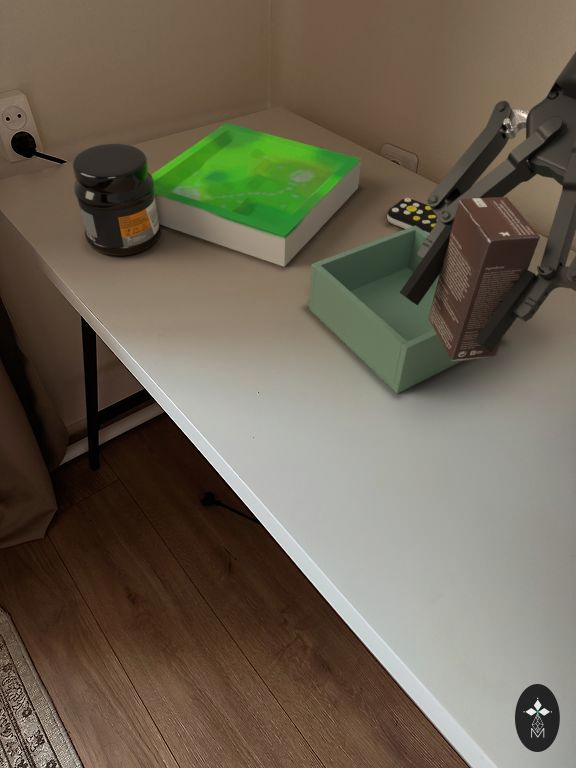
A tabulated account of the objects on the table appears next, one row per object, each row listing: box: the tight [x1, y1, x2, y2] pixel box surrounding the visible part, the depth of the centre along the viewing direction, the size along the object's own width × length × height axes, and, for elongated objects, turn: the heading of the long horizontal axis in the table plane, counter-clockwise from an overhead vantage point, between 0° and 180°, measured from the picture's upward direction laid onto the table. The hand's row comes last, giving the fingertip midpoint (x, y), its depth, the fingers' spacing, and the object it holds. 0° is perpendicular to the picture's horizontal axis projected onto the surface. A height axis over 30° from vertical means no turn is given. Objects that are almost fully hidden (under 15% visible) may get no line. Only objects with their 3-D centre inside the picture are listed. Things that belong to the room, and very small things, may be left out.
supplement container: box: [72, 143, 161, 257], centre depth 88 cm, size 10×10×12 cm
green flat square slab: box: [150, 122, 362, 268], centre depth 98 cm, size 25×25×5 cm
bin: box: [308, 226, 462, 394], centre depth 77 cm, size 18×17×7 cm
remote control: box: [386, 197, 437, 234], centre depth 95 cm, size 6×13×2 cm, turn 53°
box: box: [428, 196, 541, 362], centre depth 52 cm, size 6×4×12 cm
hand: (444, 321), depth 52 cm, fingers closed on box, 7 cm apart
